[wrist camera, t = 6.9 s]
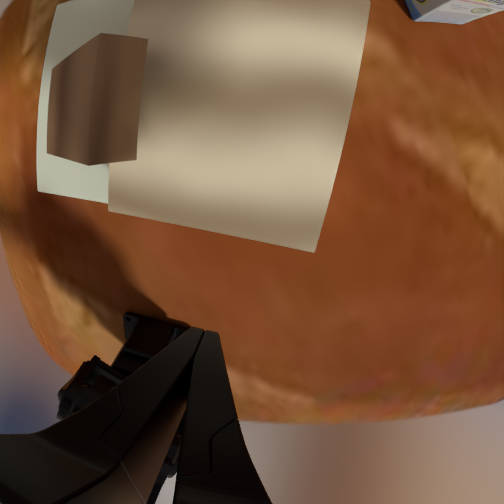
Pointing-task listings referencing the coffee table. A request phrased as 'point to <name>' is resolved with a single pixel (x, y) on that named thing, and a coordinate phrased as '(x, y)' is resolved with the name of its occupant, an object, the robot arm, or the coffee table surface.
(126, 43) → the walnut tile
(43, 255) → the coffee table surface
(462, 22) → the medicine box
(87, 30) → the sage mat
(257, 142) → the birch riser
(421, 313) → the coffee table surface
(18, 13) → the coffee table surface
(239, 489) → the robot arm
